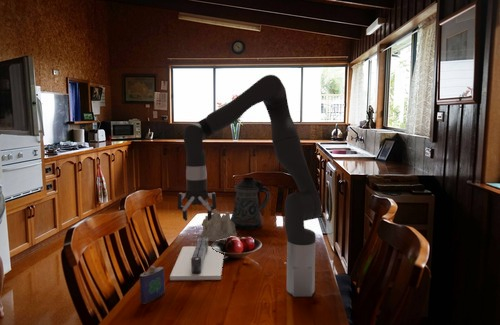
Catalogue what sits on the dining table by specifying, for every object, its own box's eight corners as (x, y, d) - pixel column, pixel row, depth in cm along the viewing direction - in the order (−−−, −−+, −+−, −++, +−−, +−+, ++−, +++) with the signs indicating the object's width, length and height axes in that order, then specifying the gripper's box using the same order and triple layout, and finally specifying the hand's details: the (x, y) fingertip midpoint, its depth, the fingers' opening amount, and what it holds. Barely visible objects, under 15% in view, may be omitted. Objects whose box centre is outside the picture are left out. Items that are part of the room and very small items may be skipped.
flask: (161, 291, 131) (160, 260, 129) (167, 293, 129) (166, 262, 127) (138, 302, 123) (137, 270, 122) (144, 305, 121) (143, 272, 120)
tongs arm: (196, 269, 144) (196, 257, 143) (191, 269, 144) (190, 257, 143) (203, 248, 166) (202, 237, 165) (198, 248, 166) (198, 237, 165)
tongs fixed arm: (202, 273, 140) (201, 260, 139) (190, 274, 140) (190, 260, 139) (208, 248, 166) (208, 236, 165) (198, 248, 166) (198, 237, 165)
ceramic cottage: (240, 238, 183) (238, 207, 181) (205, 243, 178) (203, 211, 176) (231, 231, 197) (229, 201, 196) (199, 235, 192) (197, 205, 191)
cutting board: (220, 279, 139) (220, 275, 139) (170, 280, 139) (170, 276, 139) (224, 249, 169) (224, 246, 169) (182, 249, 169) (182, 246, 168)
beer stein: (225, 223, 207) (224, 177, 203) (257, 218, 216) (257, 174, 212) (239, 232, 192) (239, 182, 189) (273, 226, 201) (273, 178, 198)
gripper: (175, 179, 141) (176, 223, 143) (215, 179, 142) (215, 222, 144) (178, 176, 149) (180, 217, 151) (216, 175, 149) (217, 217, 151)
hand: (197, 220), depth 147 cm, fingers open, 8 cm apart
